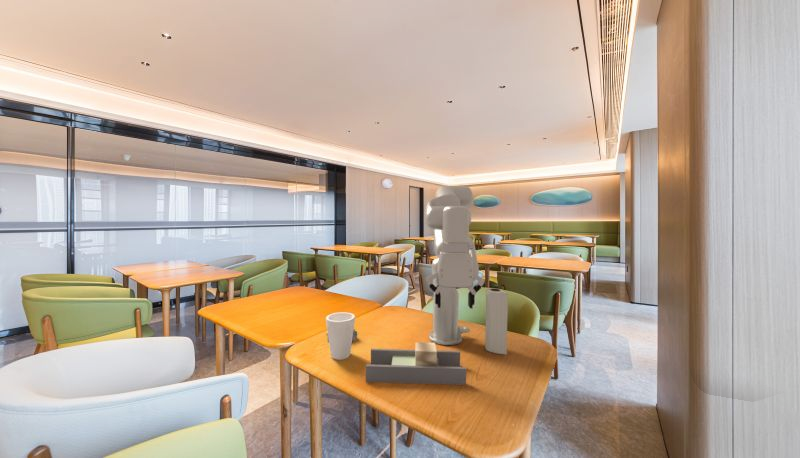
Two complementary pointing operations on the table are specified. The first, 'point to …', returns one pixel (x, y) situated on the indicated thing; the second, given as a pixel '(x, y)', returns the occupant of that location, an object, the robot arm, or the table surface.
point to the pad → (403, 360)
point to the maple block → (425, 354)
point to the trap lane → (415, 368)
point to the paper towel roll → (496, 321)
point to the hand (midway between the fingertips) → (454, 306)
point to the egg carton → (352, 337)
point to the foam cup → (340, 334)
